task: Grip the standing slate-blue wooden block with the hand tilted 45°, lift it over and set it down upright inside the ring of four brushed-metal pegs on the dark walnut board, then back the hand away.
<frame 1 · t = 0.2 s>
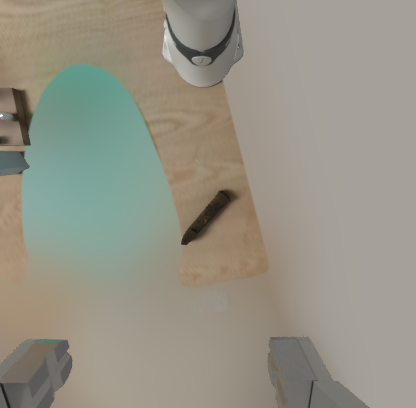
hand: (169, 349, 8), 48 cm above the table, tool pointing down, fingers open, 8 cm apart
block: (17, 162, 54), on the table
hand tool: (204, 218, 58), on the table
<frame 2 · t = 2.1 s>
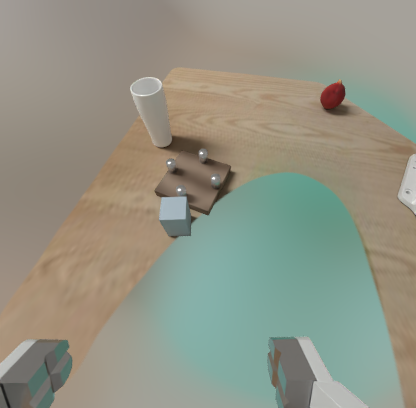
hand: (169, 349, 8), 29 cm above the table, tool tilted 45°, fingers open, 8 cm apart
drinking glass: (163, 141, 55), on the table
block: (180, 225, 42), on the table
peg board: (194, 182, 47), on the table
onion: (325, 108, 59), on the table
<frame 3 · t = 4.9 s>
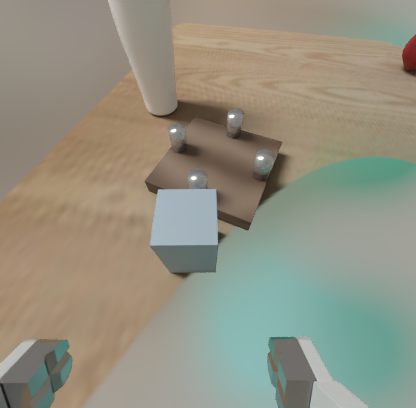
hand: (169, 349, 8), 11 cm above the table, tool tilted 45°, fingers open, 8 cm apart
drinking glass: (162, 108, 34), on the table
block: (193, 250, 21), on the table
peg board: (217, 170, 27), on the table
onion: (406, 71, 40), on the table
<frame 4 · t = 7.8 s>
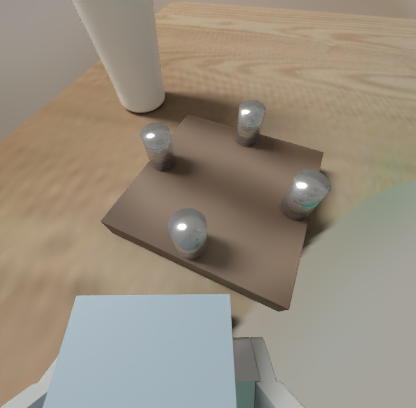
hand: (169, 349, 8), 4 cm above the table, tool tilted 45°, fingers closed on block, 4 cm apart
drinking glass: (144, 103, 25), on the table
block: (181, 355, 12), on the table, touching gripper
peg board: (222, 197, 17), on the table
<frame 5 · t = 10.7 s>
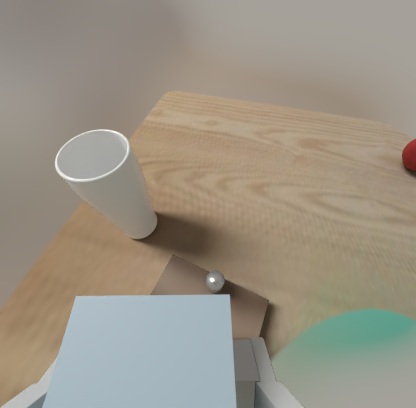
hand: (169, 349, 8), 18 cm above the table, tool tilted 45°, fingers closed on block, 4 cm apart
drinking glass: (141, 224, 31), on the table
block: (181, 355, 12), point 14 cm above the table, touching gripper
peg board: (195, 331, 24), on the table
onion: (406, 168, 37), on the table
when the fingers open (8 cm above the table, at t = 13.6 s): block drops 1 cm, resting on peg board.
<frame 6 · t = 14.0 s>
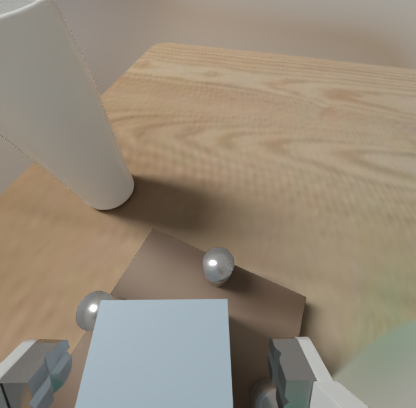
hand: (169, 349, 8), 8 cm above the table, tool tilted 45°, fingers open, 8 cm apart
drinking glass: (111, 192, 22), on the table
block: (184, 352, 13), point 2 cm above the table, touching peg board
peg board: (186, 349, 14), on the table
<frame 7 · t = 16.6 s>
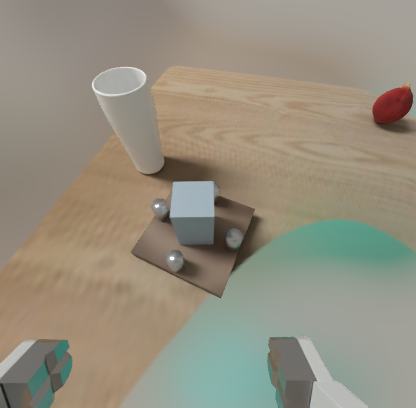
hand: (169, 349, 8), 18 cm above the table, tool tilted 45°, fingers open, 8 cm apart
drinking glass: (151, 165, 37), on the table
block: (196, 229, 28), point 2 cm above the table, touching peg board
peg board: (197, 234, 30), on the table
onion: (377, 123, 43), on the table
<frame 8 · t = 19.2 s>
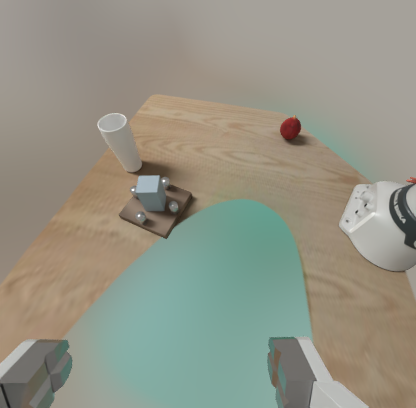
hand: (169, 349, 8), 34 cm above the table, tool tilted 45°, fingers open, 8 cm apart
drinking glass: (133, 166, 59), on the table
block: (156, 203, 50), point 2 cm above the table, touching peg board
peg board: (157, 207, 51), on the table
onion: (286, 138, 64), on the table
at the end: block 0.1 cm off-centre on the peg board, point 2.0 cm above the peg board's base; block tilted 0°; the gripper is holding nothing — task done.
